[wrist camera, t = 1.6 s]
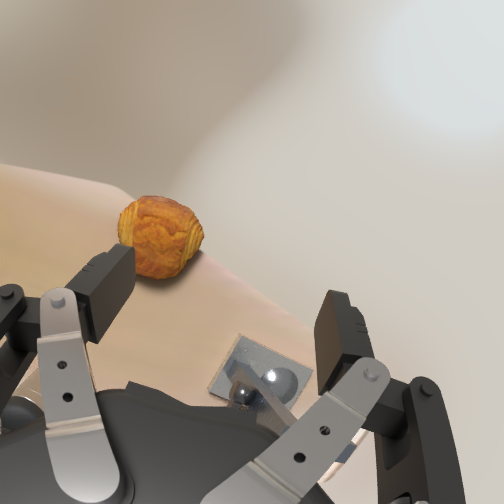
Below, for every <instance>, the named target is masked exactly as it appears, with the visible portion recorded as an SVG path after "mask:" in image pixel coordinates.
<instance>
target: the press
mask: <svg viewBox="0 0 504 504" xmlns="http://www.w3.org/2000/svg"><path fill="white" fill-rule="evenodd" d="M313 371H314V370H313V369H311V368H310V367H308V366H305V365H303V364H301V363H299V362H297V361H295V360H293V359H291V358H288V357H286V356H284V355H282V354H280V353H278V352H276V351H274V350H272V349H270V348H268V347H266V346H264V345H262V344H260V343H258V342H256V341H254V340H252V339H250V338H248V337H246V336H244V335H242V334H240V333H239V334H238V336H237V338H236V340H235V341H234V343H233V345H232V347H231V348H230V350H229V352H228V353H227V355H226V357H225V359H224V360H223V362H222V364H221V365H220V367H219V369H218V371H217V372H216V374H215V376H214V377H213V379H212V381H211V382H210V384H209V386H208V387H207V388H208V390H209V392H211V393H213V394H216V395H218V396H221V397H223V398H225V399H228V400H230V399H229V392H230V389H231V387H232V385H233V384H234V383H235V382H236V381H241V382H243V383H245V384H248V385H250V386H252V387H254V388H255V396H254V398H253V400H252V402H251V403H250V404H249V405H247V406H245V405H243V406H245V407H246V408H247V410H248V411H250V412H256V413H257V419H256V422H258V423H261V424H263V425H264V426H266V427H268V428H270V429H271V430H273V431H274V432H276V433H277V434H278V435H279V436H280V437H281V436H282V435H283V434H284V433H285V432H286V431H287V430H288V429H289V428H290V427H291V426H292V425H293V424H294V423H295V422H296V421H297V419H296V418H295V417H294V416H293V414H292V413H291V412H290V411H289V410H290V408H291V407H292V405H293V404H294V402H295V400H296V399H297V397H298V396H299V394H300V392H301V391H302V389H303V387H304V386H305V384H306V382H307V381H308V379H309V377H310V376H311V374H312V372H313ZM356 447H357V445H355V444H354V443H353V442H352V441H350V442H349V444H348V445H347V446H346V448H345V449H344V450H343V451H342V453H341V454H340V455H339V456H338V458H337V459H336V460H335V461H334V462H340V463H345V462H346V461H347V460H348V458H349V457H350V455H351V454H352V452H353V451H354V450H355V448H356Z"/></svg>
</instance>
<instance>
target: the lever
mask: <svg viewBox="0 0 504 504" xmlns="http://www.w3.org/2000/svg"><path fill="white" fill-rule="evenodd" d="M254 396H255V388H254V387H252V386H250V385H248V384H245V383H243V382H241V381H236V382H235V383H234V384H233V385H232V387H231V389H230V392H229V399H230V402H229V403H228V405H227V407H229V408H234V409H240V407H241V406H242V405H245V406H247V405H249V404H250V403H251V402H252V400H253V398H254Z"/></svg>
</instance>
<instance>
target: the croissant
mask: <svg viewBox="0 0 504 504" xmlns="http://www.w3.org/2000/svg"><path fill="white" fill-rule="evenodd" d="M118 237H119V239H120V243H121V244H122V245H127V246H131V247H134V248H135V270H136V274H139V275H142V276H144V277H150V278H153V279H156V280H158V279H160V278H161V279H164V278H170V277H174V276H177V275H178V273H179V272H180V271H182V269H183V268H184V266H185V265H186V262H187V260H188V259H190V258H191V257H193V255H194V253H195V252H197V251H198V249H199V247H200V245H201V242H202V240H203V238H204V234H203V231H202V226H201V224H200V223H199V220H198V219H197V218H196V216H195V215H194V212H193V211H192V210H191V209H190V208H188V207H186V206H183V205H181V204H179V203H177V202H176V201H174V200H171V199H168V198H164V197H159V196H142V197H141V198H140V199H138V200H137V201H134V202H132V203H131V204H130V205H129V206H128V207H127V208H125V210H124V211H122V213H121V214H120V218H119V222H118Z"/></svg>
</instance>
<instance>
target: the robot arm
mask: <svg viewBox="0 0 504 504" xmlns="http://www.w3.org/2000/svg"><path fill="white" fill-rule="evenodd" d="M135 281H136V270H135V248H134V247H131V246H127V245H122V244H116V245H115V246H114V247H113V248H112V249H111V250H110V251H109V252H108V253H106V252H103V253H101V254H99V255H97V256H95V257H93V258H92V259H91V260H90V261H89V262H88V263H87V265H85V266H84V267H83V268H82V271H81V270H80V271H79V272H78V273H77V275H76V276H75V277H74V278H73V279H72V280H71V281H70V282H69V283H68V284H67V285H66V286H65V287H64V288H54V289H51V290H49V291H47V292H46V293H44V294H43V295H42V297H41V298H34V297H25V296H24V292H23V289H22V288H21V287H20V286H19V285H17V284H7V285H4V286H1V287H0V340H1V339H2V337H3V336H4V335H5V336H6V338H7V340H6V341H5V343H4V344H3V345H2V347H1V348H0V504H334V502H333V501H332V500H331V499H330V498H329V496H328V495H327V494H326V493H325V491H324V490H323V489H322V488H321V487H320V486H319V484H318V483H317V481H318V480H319V479H320V478H321V477H322V476H323V474H324V473H325V472H326V471H327V470H328V469H329V467H330V466H331V465H332V464H333V463H334V461H335V460H336V459H337V458H338V456H339V455H340V454H341V453H342V451H343V450H344V449H345V448H346V446H347V445H348V444H349V442H350V441H351V440H352V438H353V437H354V436H355V434H356V433H357V432H358V430H359V429H360V428H363V429H366V430H368V431H371V432H374V438H375V450H376V464H377V465H376V466H377V486H378V504H466V502H465V495H464V488H463V482H462V477H461V472H460V466H459V461H458V457H457V452H456V447H455V443H454V439H453V435H452V430H451V427H450V423H449V419H448V415H447V412H446V408H445V404H444V401H443V398H442V395H441V391H440V389H439V387H438V386H437V385H436V384H435V382H433V381H432V380H430V379H429V378H426V377H416V378H414V379H413V380H412V381H411V382H410V383H409V384H406V383H404V382H401V381H398V380H395V379H393V378H390V373H389V370H388V369H387V367H386V366H385V365H384V364H383V363H381V362H380V361H378V360H376V359H375V357H374V353H373V350H372V346H371V342H370V338H369V336H368V331H367V328H366V324H365V320H364V317H363V315H362V314H361V312H360V311H359V310H358V309H357V307H352V306H351V305H350V301H349V297H348V294H347V293H344V292H338V291H334V290H329V291H328V292H327V294H326V297H325V299H324V302H323V304H322V307H321V309H320V312H319V314H318V317H317V319H316V322H315V328H314V338H315V351H316V365H317V380H318V395H320V396H321V397H320V398H319V399H318V401H317V402H316V403H315V404H314V405H313V406H312V407H311V408H310V409H309V410H308V411H307V412H306V413H305V414H304V415H303V416H302V417H301V418H300V419H299V420H297V421H296V422H295V423H294V424H293V425H292V426H291V427H290V428H289V429H288V430H287V431H286V432H285V433H284V434H283V435H282V436H281V437H280V436H279V435H278V434H277V433H276V432H274V431H273V430H271V429H270V428H268V427H266V426H264V425H263V424H261V423H258V422H256V419H257V413H256V412H250V411H245V410H239V409H234V408H229V407H207V406H189V405H186V404H184V403H182V402H180V401H178V400H176V399H174V398H173V397H171V396H169V395H167V394H165V393H163V392H161V391H159V390H157V389H153V388H150V387H147V386H143V385H140V384H137V383H134V382H131V381H129V382H128V384H127V386H126V389H108V390H103V391H99V392H97V389H96V385H95V381H94V378H93V374H92V369H91V365H90V361H89V357H88V352H87V348H86V343H87V341H90V342H93V343H95V344H98V343H99V342H100V340H101V338H102V337H103V335H104V334H105V332H106V331H107V329H108V328H109V326H110V325H111V323H112V322H113V320H114V319H115V317H116V315H117V314H118V312H119V311H120V310H121V308H122V307H123V305H124V304H125V302H126V301H127V299H128V298H129V296H130V295H131V293H132V292H133V289H134V286H135ZM37 353H38V366H39V367H38V368H37V369H36V370H35V371H34V372H33V373H32V374H31V375H30V376H29V377H28V378H27V379H26V380H25V381H24V382H23V383H22V384H21V385H20V386H19V387H18V388H17V389H16V387H17V386H18V384H19V382H20V381H21V379H22V377H23V376H24V374H25V372H26V371H27V369H28V368H29V366H30V364H31V363H32V361H33V360H34V358H35V357H36V355H37ZM15 389H16V390H15Z"/></svg>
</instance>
